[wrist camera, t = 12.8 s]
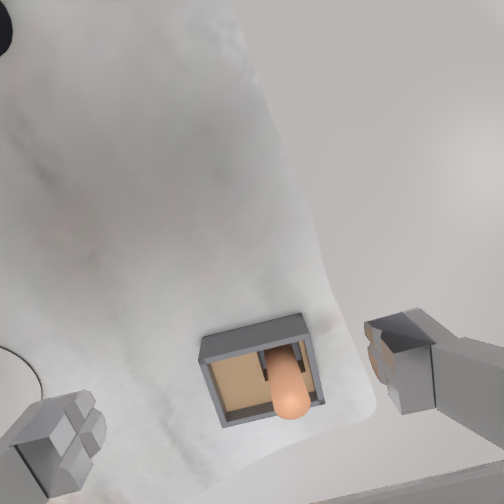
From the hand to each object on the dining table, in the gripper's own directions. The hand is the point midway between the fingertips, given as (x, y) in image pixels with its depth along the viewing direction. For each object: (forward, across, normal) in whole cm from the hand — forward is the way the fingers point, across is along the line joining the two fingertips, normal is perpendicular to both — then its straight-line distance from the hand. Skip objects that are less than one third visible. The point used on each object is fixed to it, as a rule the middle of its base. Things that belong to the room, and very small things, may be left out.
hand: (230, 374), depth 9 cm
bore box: (+29, +2, +21) cm, 36 cm away
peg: (+28, -1, +20) cm, 34 cm away
